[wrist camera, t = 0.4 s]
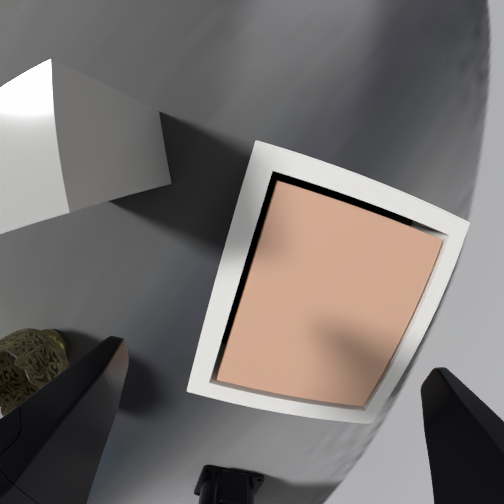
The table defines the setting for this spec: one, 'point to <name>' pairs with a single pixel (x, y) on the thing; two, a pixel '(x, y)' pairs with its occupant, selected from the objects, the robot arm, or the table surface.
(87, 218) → the table surface
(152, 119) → the stone pillar
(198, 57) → the table surface
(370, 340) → the trapdoor
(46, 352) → the cup
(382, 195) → the trapdoor frame
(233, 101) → the table surface
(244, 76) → the table surface
